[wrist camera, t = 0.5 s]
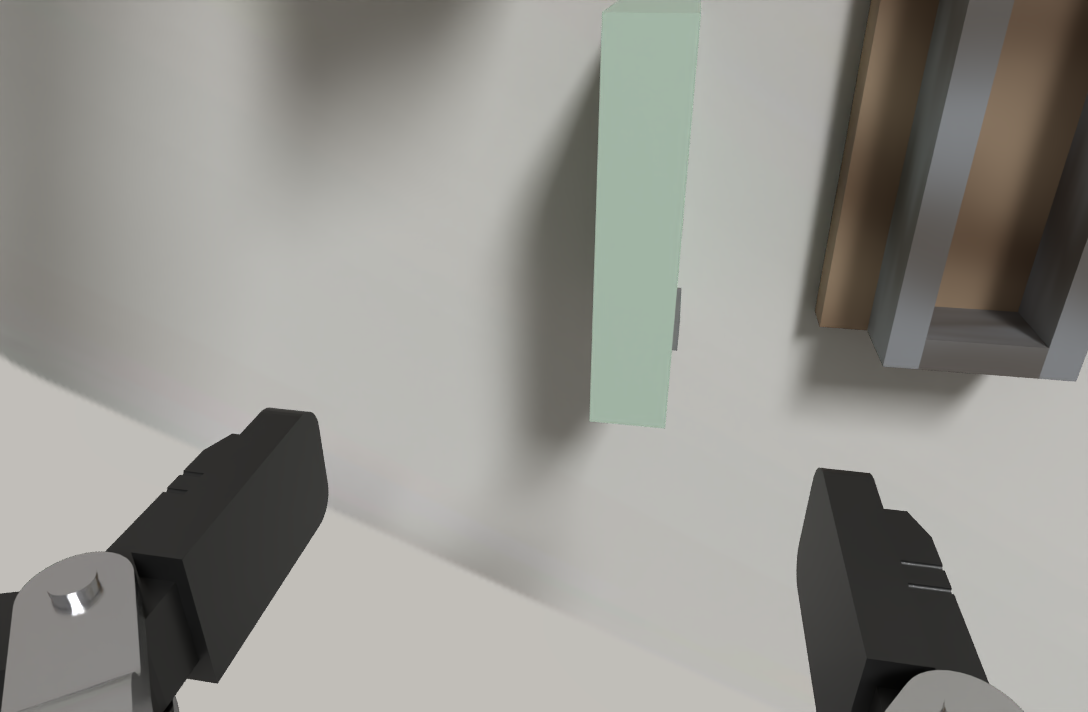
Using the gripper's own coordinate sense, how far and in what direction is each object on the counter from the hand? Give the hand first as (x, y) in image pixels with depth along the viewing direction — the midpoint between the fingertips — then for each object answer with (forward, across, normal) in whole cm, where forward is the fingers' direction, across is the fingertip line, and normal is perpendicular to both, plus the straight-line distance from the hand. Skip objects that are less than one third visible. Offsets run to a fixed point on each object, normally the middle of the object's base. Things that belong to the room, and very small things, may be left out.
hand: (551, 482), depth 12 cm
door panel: (+21, -1, 0) cm, 21 cm away
